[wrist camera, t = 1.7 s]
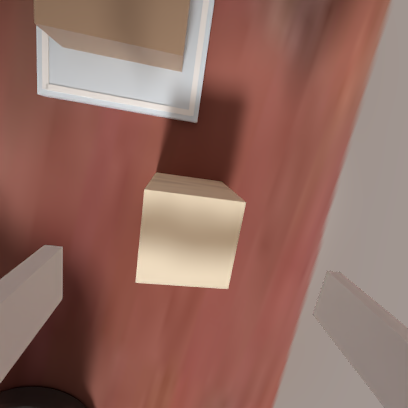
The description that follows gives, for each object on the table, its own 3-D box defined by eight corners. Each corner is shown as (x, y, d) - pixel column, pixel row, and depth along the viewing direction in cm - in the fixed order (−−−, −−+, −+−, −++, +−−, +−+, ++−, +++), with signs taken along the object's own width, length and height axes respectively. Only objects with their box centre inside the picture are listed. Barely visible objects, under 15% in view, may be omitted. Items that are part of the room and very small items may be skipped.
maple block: (211, 241, 26) (228, 288, 18) (149, 234, 25) (135, 282, 17) (221, 181, 25) (246, 202, 16) (156, 172, 24) (144, 189, 15)
